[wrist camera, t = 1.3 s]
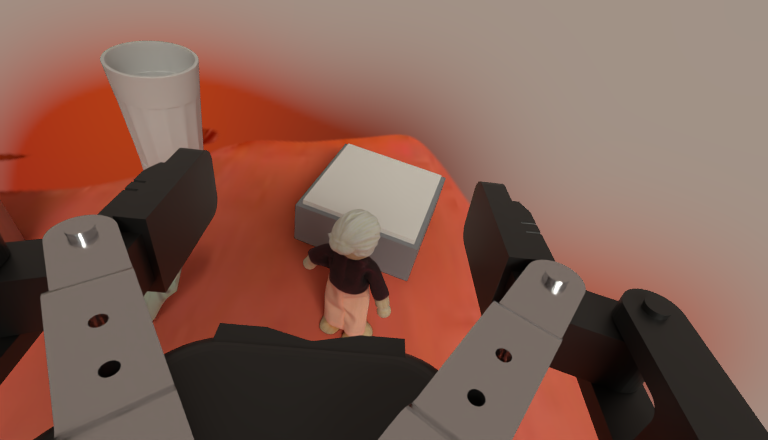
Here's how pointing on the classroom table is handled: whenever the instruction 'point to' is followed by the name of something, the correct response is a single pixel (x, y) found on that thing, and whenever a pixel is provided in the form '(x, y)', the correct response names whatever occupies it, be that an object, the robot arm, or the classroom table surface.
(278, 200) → the classroom table surface
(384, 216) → the plinth
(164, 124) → the cup
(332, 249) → the grandmother figurine
